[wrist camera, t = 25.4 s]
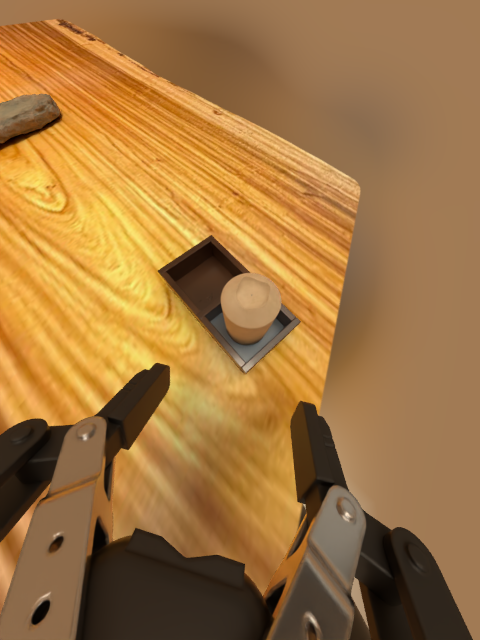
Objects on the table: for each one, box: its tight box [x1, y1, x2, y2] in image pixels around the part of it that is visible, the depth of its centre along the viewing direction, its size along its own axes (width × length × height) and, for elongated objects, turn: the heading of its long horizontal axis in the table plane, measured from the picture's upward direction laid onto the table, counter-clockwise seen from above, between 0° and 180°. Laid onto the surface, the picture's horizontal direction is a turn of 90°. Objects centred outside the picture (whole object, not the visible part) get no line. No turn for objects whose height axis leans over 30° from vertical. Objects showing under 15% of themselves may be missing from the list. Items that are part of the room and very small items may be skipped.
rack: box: [158, 235, 301, 374], centre depth 24 cm, size 17×9×4 cm, turn 42°
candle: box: [221, 273, 281, 345], centre depth 19 cm, size 6×6×10 cm
